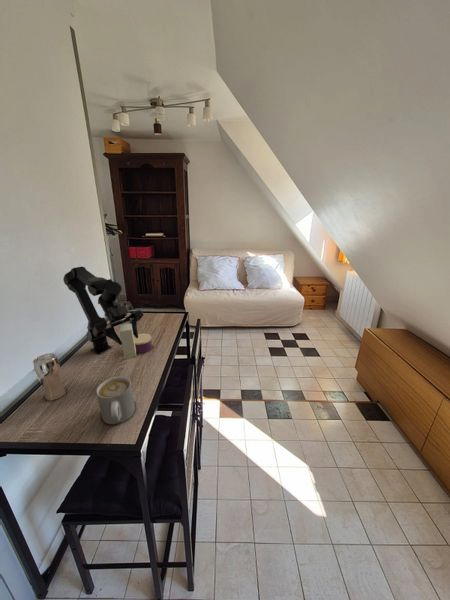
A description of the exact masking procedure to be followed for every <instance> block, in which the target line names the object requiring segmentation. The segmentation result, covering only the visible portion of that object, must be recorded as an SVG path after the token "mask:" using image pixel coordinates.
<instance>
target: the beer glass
mask: <svg viewBox="0 0 450 600" xmlns="http://www.w3.org/2000/svg"><path fill="white" fill-rule="evenodd" d="M32 364H33V368H34V372H35V373H34V374H35V375H36V378H37V380H38V381H39V383H40V385H41V386H42V388H43V390H44V399H45V400H47V401H55V400H57V399H60V398H62V397H63V396H64V395H65V394H66V392H67V391H66V388H65V387H64V385H63V381H62V368H61V364H60V362H59V359H58V356H57V354H56V353H53V352H50V353H49V352H48V353H44V354H41V355H39V356H37V357H35V358H34V359H33V360H32Z"/></svg>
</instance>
